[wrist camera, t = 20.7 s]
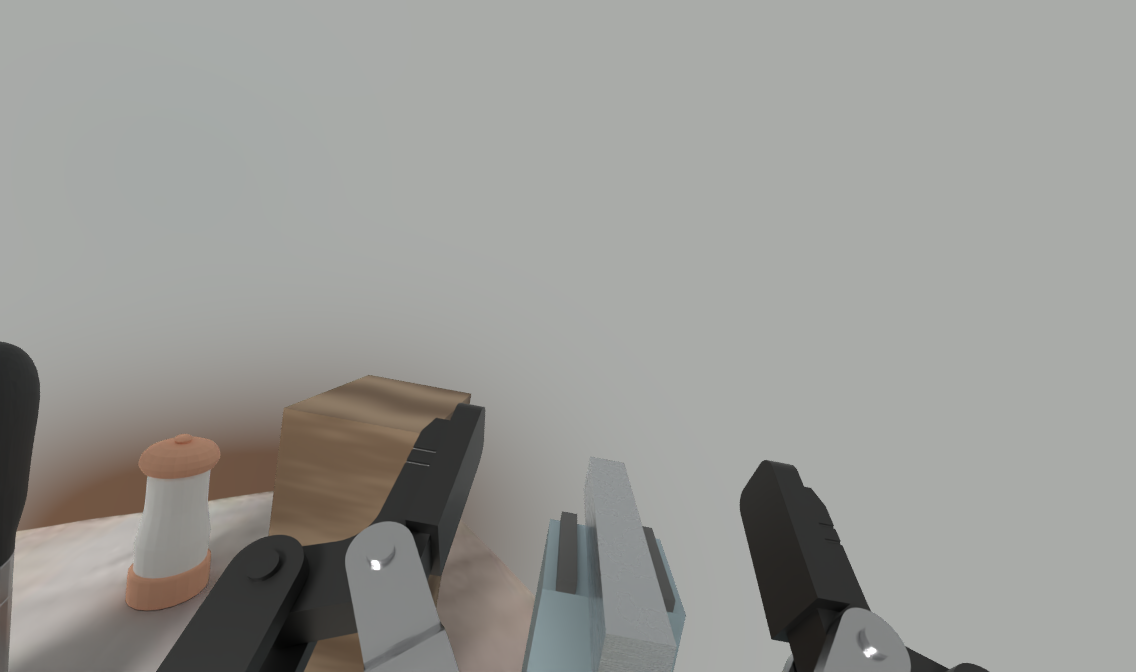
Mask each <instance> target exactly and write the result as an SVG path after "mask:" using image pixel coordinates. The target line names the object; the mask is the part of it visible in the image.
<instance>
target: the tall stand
mask: <svg viewBox="0 0 1136 672" xmlns="http://www.w3.org/2000/svg"><path fill="white" fill-rule="evenodd" d="M470 398H471V394H469V393H464V392H458V391H453V390H447V389H442V388H437V387H431V386H426V385H420V384H415V383H410V382H404V381H399V380H393V379H387V378H382V377H377V376H372V375H368V376H365V377H362V378H360V379H357V380H355V381H352V382H350V383H347V384H345V385H342V386H339V387H337V388H334V389H332V390H329V391H327V392H324V393H322V394H319V395H316V396H314V397H311V398H309V399H306V400H303V401H301V402H298V403H296V404H293V405H291V406H288V407H285V408H284V412H283V420H282V428H281V436H280V445H279V453H278V461H277V470H276V478H275V486H274V495H273V503H272V512H271V520H270V528H269V536H271V535H288V536H291V537H293V538H295V539H296V540H298V541H299V542H300V544H301V545H302V546H307V545H314V544H321V543H328V542H335V541H340V540H344V539H347V538H350V537H352V536H355V535H357V534H358V533H360V532H362V531H363V530H364V529H366V528H367V527H368V526H369V525H370V524H371V523H372V522H373V521H374V520H375V519H376V517H377V516H378V514H379V513H380V511H381V509H382V507H383V505H384V503H385V501H386V499H387V497H388V495H389V493H390V491H391V489H392V487H393V485H394V483H395V481H396V479H397V477H398V476H399V474H400V472H401V470H402V468H403V466H404V464H405V463H406V461H407V458H408V456H409V454H410V452H411V450H413V446H414V444H415V442H416V440H417V438H418V436H419V434H420V432H421V431H422V430H423V429H424V428H425V427H426V426H427V425H428V424H429V423H431V422H432V421H433V420H434V419H435V418H440V419H446V420H450V419H451V417H452V415H453V412H454V410H455V408H456V406H457V404H458V403H465V404H470ZM440 581H441V576H435V575H430V576H429V578H428V581H427V582H428V585H429V589H430V592H431V595H432V598H433V601H434V604H435V608H436V605H437V599H438V593H439V587H440ZM304 672H364V663H363V657H362V651H361V646H360V641H359V635H358V633H354V634H349V635H344V636H339V637H334V638H329V639H324V640H319V641H317V644H316V646H315V648H314V650H313V653H312V655H311V657H310V659H309V662H308V664H307V666H306V668H305V670H304Z"/></svg>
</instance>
